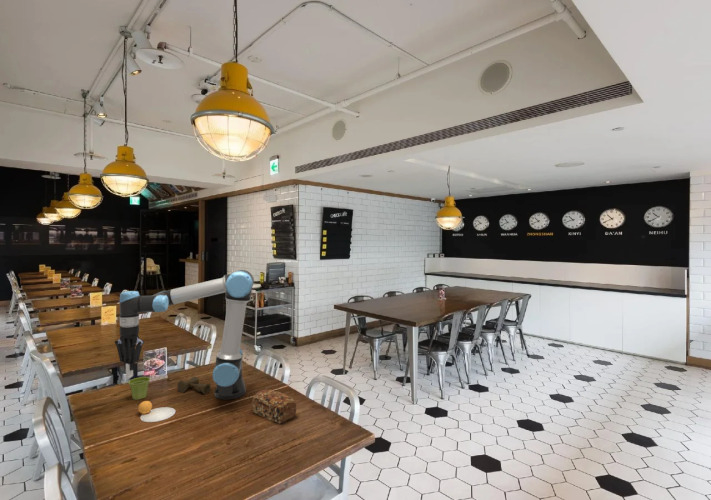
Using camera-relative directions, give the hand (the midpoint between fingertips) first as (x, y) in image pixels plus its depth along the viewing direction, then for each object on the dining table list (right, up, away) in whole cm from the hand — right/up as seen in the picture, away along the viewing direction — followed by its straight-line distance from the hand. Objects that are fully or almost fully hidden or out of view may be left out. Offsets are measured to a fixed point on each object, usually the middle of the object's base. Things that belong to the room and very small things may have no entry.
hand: (129, 377), depth 166 cm
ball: (+7, -14, 0) cm, 16 cm away
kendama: (+17, -17, +27) cm, 36 cm away
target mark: (+14, -17, -1) cm, 22 cm away
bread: (+66, -17, 0) cm, 68 cm away
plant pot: (-5, -16, +17) cm, 24 cm away
